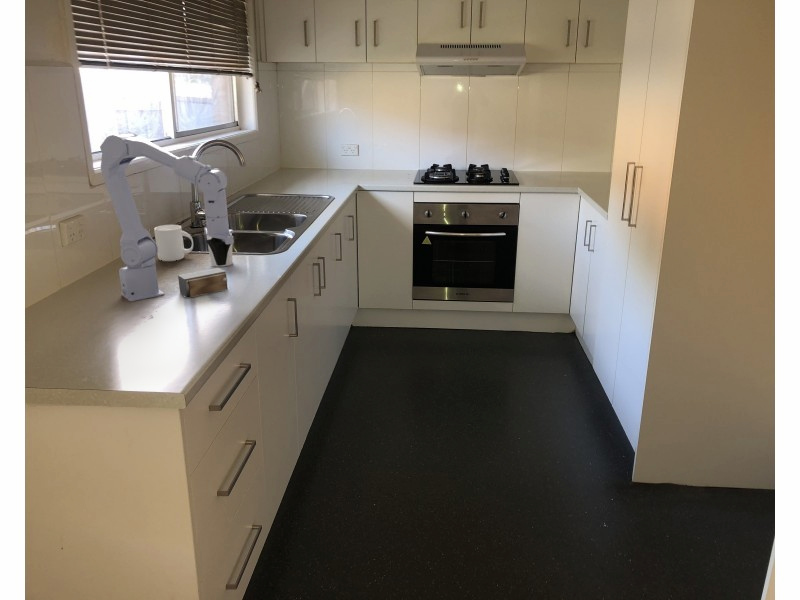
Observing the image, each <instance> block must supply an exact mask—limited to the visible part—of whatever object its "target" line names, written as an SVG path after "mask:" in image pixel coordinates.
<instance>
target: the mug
mask: <svg viewBox="0 0 800 600" xmlns="http://www.w3.org/2000/svg"><path fill="white" fill-rule="evenodd" d="M153 231H154V237H155V242H156V244H157V246H158V253H157V258H158V260H160V261H161V260H162V261H161V262H176V260H177V261H180V260H182V259H184V257H185V255H187V254H189V253H191V252H192V251H193V249H194V239H193V237H192V235H191V234H190V233H188V232H186V231H184V230H182V225H178V224H164V225H159V226H156V227H154V230H153ZM183 237H187V238H188V239H189V240H190V241H191V247H190V248H185V247H184V246H185V245H184V239H183Z"/></svg>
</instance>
